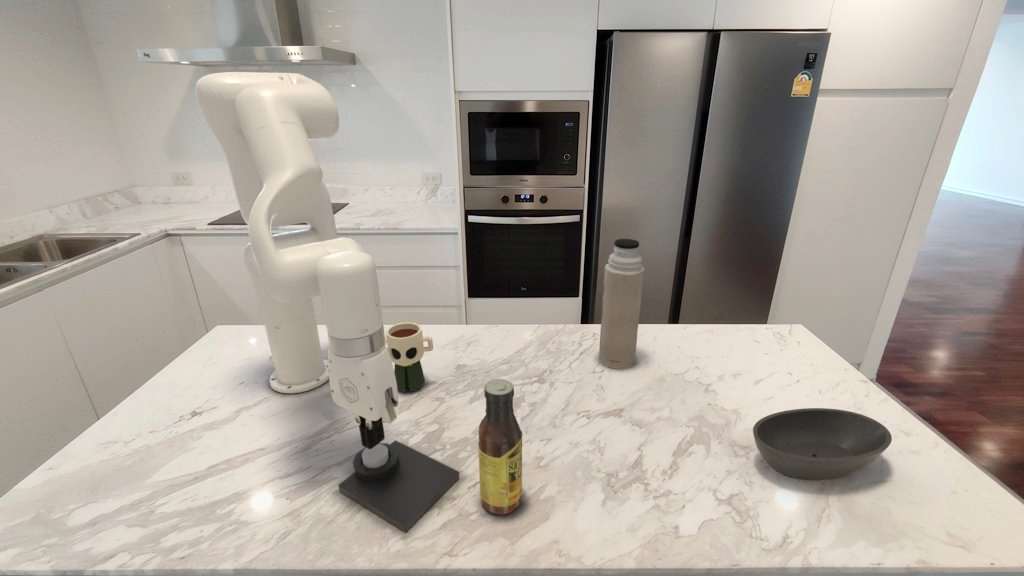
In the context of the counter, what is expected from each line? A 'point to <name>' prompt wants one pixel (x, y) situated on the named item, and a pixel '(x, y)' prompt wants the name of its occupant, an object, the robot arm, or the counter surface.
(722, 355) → the counter surface
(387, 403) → the robot arm
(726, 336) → the counter surface
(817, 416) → the bowl
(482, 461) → the sauce bottle
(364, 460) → the button
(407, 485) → the scale
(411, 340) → the character mug
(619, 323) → the thermos bottle
